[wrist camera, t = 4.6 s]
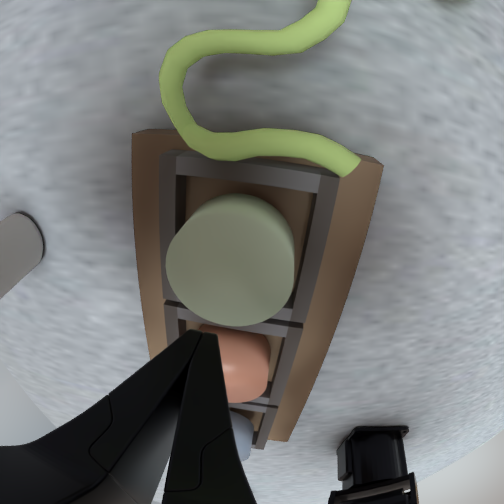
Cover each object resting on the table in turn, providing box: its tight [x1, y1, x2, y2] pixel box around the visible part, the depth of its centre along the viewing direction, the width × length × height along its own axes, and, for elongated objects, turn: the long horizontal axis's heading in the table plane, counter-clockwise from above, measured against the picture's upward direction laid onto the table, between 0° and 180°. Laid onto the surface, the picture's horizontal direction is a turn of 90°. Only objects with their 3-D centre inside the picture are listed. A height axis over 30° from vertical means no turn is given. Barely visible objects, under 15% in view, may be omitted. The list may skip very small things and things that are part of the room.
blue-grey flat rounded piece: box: [230, 411, 254, 461], centre depth 20 cm, size 5×5×2 cm
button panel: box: [132, 129, 384, 450], centre depth 19 cm, size 12×25×4 cm, turn 174°
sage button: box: [166, 193, 294, 326], centre depth 13 cm, size 5×5×2 cm
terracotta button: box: [198, 324, 271, 403], centre depth 18 cm, size 5×5×2 cm
